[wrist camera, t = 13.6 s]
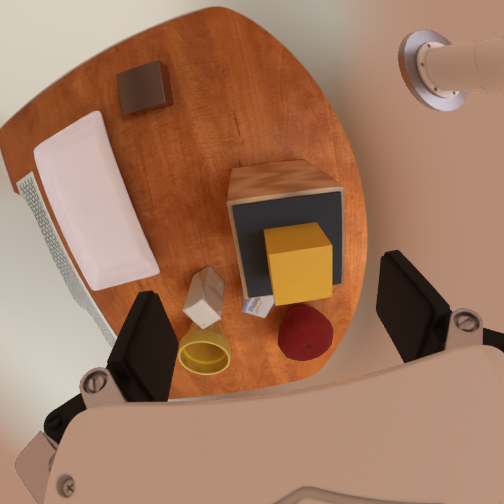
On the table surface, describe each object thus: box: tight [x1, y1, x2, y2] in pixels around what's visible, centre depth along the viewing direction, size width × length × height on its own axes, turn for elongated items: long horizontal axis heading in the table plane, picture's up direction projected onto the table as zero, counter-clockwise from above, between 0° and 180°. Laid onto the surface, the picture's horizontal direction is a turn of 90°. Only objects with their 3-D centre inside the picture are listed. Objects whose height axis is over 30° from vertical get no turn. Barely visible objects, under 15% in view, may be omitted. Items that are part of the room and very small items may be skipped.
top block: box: [264, 222, 332, 306], centre depth 27 cm, size 6×6×6 cm
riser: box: [226, 159, 345, 299], centre depth 38 cm, size 12×12×19 cm
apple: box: [278, 305, 333, 361], centre depth 53 cm, size 11×11×12 cm
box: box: [183, 266, 225, 329], centre depth 48 cm, size 5×4×11 cm
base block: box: [116, 61, 173, 115], centre depth 35 cm, size 7×7×5 cm
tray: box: [34, 111, 160, 291], centre depth 44 cm, size 17×31×4 cm, turn 14°
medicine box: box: [242, 287, 274, 318], centre depth 49 cm, size 8×4×9 cm, turn 156°
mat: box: [232, 191, 342, 298], centre depth 29 cm, size 11×11×1 cm
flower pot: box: [178, 320, 231, 375], centre depth 55 cm, size 10×10×10 cm
